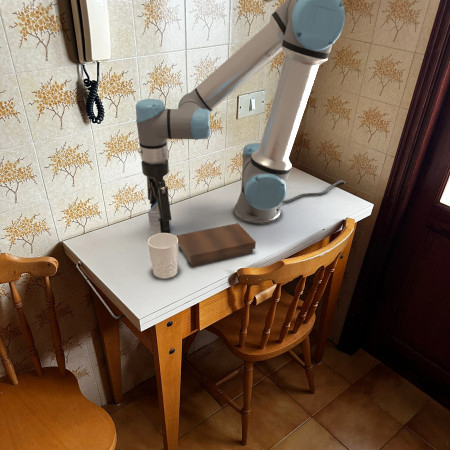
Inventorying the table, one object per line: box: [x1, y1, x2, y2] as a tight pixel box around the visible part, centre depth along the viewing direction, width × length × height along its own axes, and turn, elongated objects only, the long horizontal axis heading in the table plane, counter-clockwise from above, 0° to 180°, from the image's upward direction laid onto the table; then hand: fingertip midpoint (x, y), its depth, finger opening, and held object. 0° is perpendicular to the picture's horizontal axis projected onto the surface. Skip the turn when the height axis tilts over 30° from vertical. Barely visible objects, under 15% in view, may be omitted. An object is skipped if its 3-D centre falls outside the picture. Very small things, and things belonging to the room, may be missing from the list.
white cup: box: [147, 233, 179, 280], centre depth 119 cm, size 8×8×10 cm
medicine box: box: [147, 201, 173, 237], centre depth 136 cm, size 8×4×9 cm, turn 168°
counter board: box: [175, 222, 257, 267], centre depth 130 cm, size 20×12×4 cm, turn 114°
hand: (161, 230), depth 138 cm, fingers closed on medicine box, 9 cm apart
